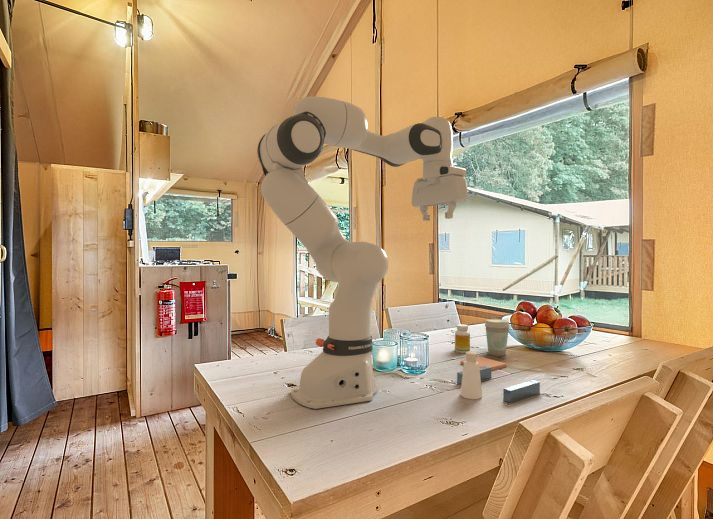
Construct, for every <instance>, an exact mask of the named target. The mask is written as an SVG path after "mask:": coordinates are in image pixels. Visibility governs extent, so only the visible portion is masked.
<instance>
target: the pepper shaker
mask: <svg viewBox="0 0 713 519" xmlns="http://www.w3.org/2000/svg"><path fill="white" fill-rule="evenodd" d="M477 357H478V353H477V352H476V351H471V350H470V352H466V353H465V360H466V361H465V362H464V365H462V366H463V368H462V371H463V376H462V385H461V384H460V385H461V387H460V395H461V397H462V398H465V399H468V400H479V399H482V398H483V391H482V380H481V379H480V369H479V363H478V362H476V361H477Z"/></svg>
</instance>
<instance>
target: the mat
mask: <svg viewBox="0 0 713 519" xmlns="http://www.w3.org/2000/svg"><path fill="white" fill-rule="evenodd" d="M465 361H466V359H464V360H460V361H459V362H460V365H462V366H464V362H465ZM476 362H478V363H479V367H483V366H488V367H491V372H492V371H495V370H499V369H503V368H507V362H502V361H499V360H495V359H491V358H487V357H484V356H477V361H476Z"/></svg>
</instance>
